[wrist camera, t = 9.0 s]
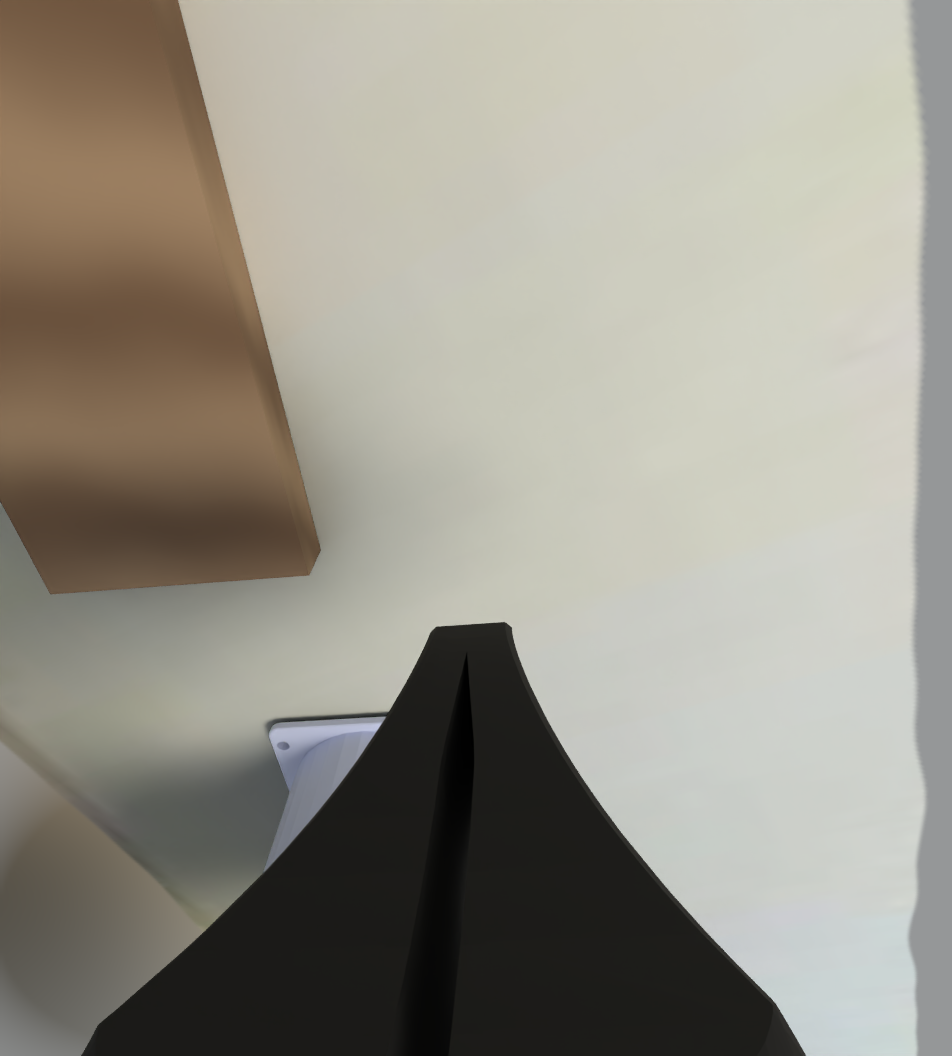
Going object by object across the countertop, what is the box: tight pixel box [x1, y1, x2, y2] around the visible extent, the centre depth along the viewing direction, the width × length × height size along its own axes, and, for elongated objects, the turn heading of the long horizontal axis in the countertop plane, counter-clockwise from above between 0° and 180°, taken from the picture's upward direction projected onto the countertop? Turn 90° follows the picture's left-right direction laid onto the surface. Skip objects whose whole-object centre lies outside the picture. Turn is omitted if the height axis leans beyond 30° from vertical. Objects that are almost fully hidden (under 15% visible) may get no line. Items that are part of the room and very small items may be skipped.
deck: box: [0, 0, 321, 594], centre depth 17 cm, size 16×9×2 cm, turn 6°
